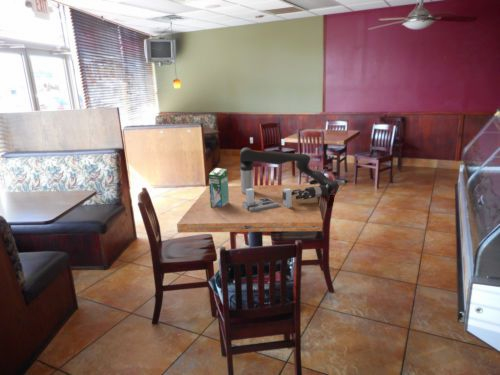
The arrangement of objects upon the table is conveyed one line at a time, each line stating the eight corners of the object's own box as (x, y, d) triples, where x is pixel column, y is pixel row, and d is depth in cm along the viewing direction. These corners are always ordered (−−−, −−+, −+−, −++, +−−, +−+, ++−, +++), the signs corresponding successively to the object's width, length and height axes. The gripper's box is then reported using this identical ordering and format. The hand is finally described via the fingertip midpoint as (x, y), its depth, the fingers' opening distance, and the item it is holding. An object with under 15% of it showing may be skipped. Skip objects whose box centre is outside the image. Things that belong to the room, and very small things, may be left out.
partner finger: (246, 206, 233) (245, 189, 230) (252, 205, 235) (252, 187, 232) (248, 208, 230) (248, 190, 226) (255, 207, 231) (254, 189, 228)
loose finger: (282, 206, 236) (282, 189, 232) (288, 205, 238) (288, 188, 234) (285, 208, 232) (285, 190, 229) (291, 207, 234) (291, 189, 231)
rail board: (240, 207, 236) (240, 201, 235) (270, 202, 245) (270, 195, 244) (251, 215, 222) (251, 208, 221) (282, 209, 231) (282, 202, 230)
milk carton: (210, 207, 238) (208, 170, 231) (217, 203, 246) (215, 167, 239) (222, 209, 234) (220, 171, 227) (229, 204, 242) (227, 168, 235)
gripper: (307, 184, 246) (286, 187, 240) (319, 189, 234) (298, 193, 228) (306, 194, 249) (286, 198, 242) (319, 200, 236) (298, 204, 230)
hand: (292, 195), depth 235 cm, fingers open, 8 cm apart
